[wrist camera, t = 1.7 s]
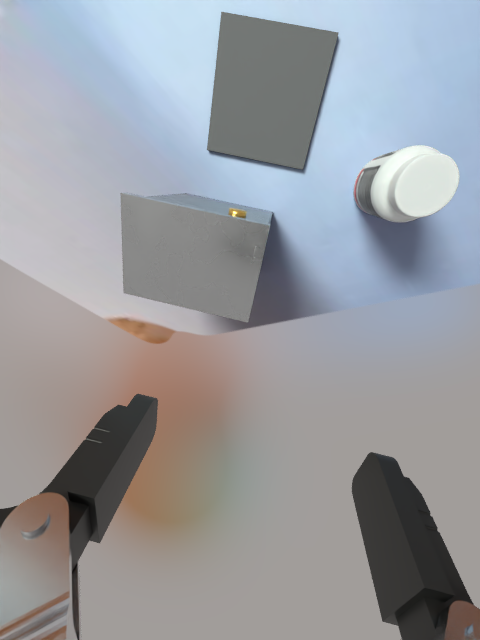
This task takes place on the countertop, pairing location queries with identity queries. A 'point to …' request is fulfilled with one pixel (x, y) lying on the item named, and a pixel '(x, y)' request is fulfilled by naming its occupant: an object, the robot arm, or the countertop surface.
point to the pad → (268, 88)
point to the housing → (193, 252)
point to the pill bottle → (406, 184)
